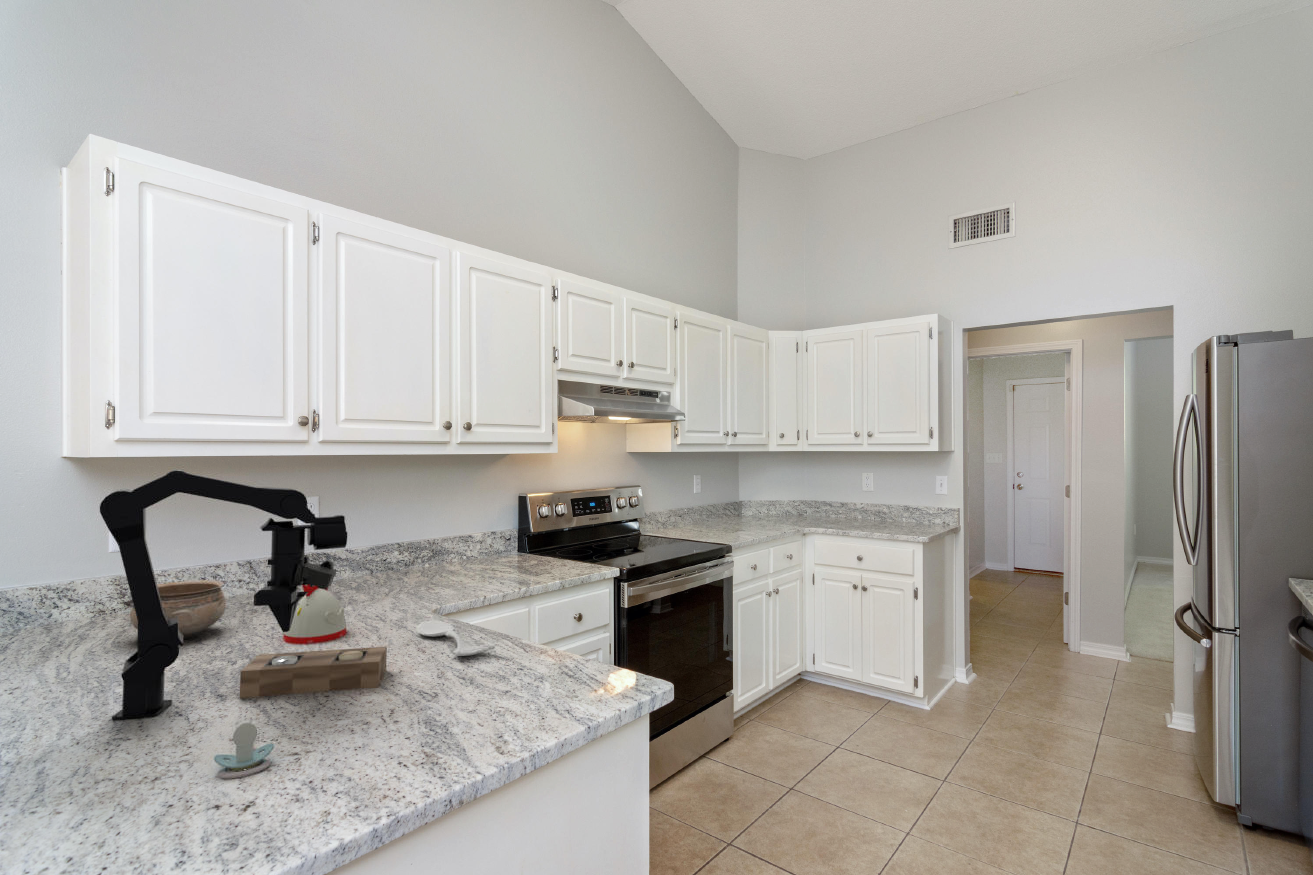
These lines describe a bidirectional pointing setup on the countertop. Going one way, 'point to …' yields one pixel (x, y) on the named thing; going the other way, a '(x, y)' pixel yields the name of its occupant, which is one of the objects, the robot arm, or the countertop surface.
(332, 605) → the kitchen timer
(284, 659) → the steel peg
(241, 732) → the pacifier
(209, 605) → the cooking pot
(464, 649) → the spoon
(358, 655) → the birch peg
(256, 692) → the walnut block
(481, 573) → the countertop surface
